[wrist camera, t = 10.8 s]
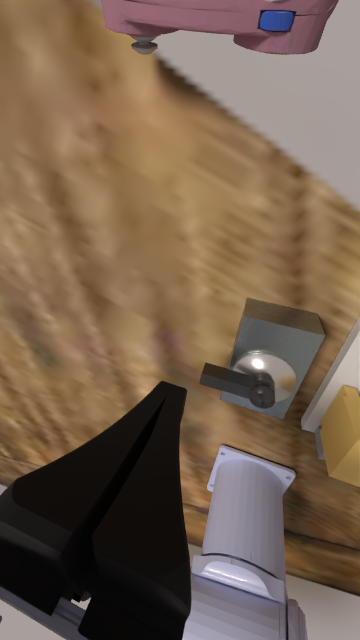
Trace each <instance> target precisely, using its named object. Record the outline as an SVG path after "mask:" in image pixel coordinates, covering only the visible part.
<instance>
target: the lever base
mask: <svg viewBox="0 0 360 640" xmlns="http://www.w3.org/2000/svg"><path fill="white" fill-rule="evenodd" d="M324 337H325V334H324V331H323V328H322V325H321V322H320V320H319V317H318V314H315V313H311V312H307V311H302V310H298V309H293V308H289V307H285V306H280V305H276V304H272V303H267V302H263V301H258V300H254V299H250V298H247V300H246V303H245V307H244V311H243V314H242V318H241V321H240V325H239V328H238V332H237V336H236V339H235V343H234V346H233V350H232V354H231V357H230V361H229V364H228V368H227V369H230V370H233V371H236V372H240V373H243V374H247V375H250V376H255V375H258V374H265V375H268V376H270V377H271V378H272V379H273V380H274V382H275V404H274V405H273V406H272V407H270V408H267V409H262V408H258V407H256V406H254V405H253V404H252V403H251V402H250V400H249V399H247V398H244V397H241V396H238V395H234V394H231V393H228V392H225V391H222V392H221V397H220V400H223V401H226V402H230V403H233V404H236V405H239V406H242V407H245V408H248V409H251V410H254V411H258V412H261V413H264V414H267V415H270V416H273V417H276V418H279V419H282V420H283V418H284V416H285V414H286V412H287V410H288V408H289V406H290V404H291V402H292V400H293V398H294V396H295V395H296V393H297V391H298V389H299V387H300V385H301V383H302V381H303V379H304V377H305V375H306V373H307V371H308V369H309V367H310V365H311V363H312V361H313V359H314V357H315V355H316V353H317V351H318V349H319V347H320V345H321V343H322V341H323V339H324Z"/></svg>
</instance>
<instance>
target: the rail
mask: <svg viewBox="0 0 360 640" xmlns="http://www.w3.org/2000/svg"><path fill="white" fill-rule="evenodd" d="M343 385H345V386H348V387H352V388H355V389H357V392H358V394H359V396H360V316H359V318H358V320H357V322H356V323H355V325H354V327H353V329H352V330H351V332H350V334H349V336H348V337H347V339H346V341H345V343H344V345H343V346H342V348H341V350H340V352H339V353H338V355H337V357H336V359H335V360H334V362H333V364H332V366H331V367H330V369H329V371H328V373H327V374H326V376H325V378H324V380H323V382H322V383H321V385H320V387H319V389H318V390H317V392H316V394H315V396H314V397H313V399H312V401H311V403H310V404H309V406H308V408H307V410H306V411H305V413H304V415H303V417H302V419H301V426H302V429H303V430H307V431H310V432H313V433H314V436H315V441H316V447H317V453H318V458H319V459H321V460H324V461H326V460H325V455H324V450H323V445H322V440H321V435H320V429H321V428H322V422H321V419H322V417H323V416H324V414H325V413H326V411H327V409H328V408H329V406H330V405H331V403H332V402H333V400H334V398H335V397H336V395H337V394H338V392H339V391H340V389H341V387H342V386H343Z"/></svg>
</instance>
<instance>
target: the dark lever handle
mask: <svg viewBox="0 0 360 640" xmlns="http://www.w3.org/2000/svg"><path fill="white" fill-rule="evenodd" d="M200 384H202V385H206V386H209V387H212V388H215V389H218V390H222V391H225V392H228V393H231V394H234V395H238V396H241V397H244V398H247V399H249V400H250V402H251V403H252V404H253V405H254V406H256V407H258V408H262V409H267V408H270V407H272V406H273V405H274V404H275V382H274V380H273V379H272V378H271V377H270V376H268V375H265V374H258V375H255V376H250V375H247V374H243V373H240V372H236V371H233V370H230V369H226V368H223V367H219V366H216V365H212V364H209V363H205V366H204V368H203V371H202V375H201V379H200Z"/></svg>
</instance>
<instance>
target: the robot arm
mask: <svg viewBox="0 0 360 640" xmlns="http://www.w3.org/2000/svg"><path fill="white" fill-rule="evenodd" d="M186 394H187V390H186V389H185V388H183V387H179V386H176V385H173V384H170V383H167V382H164V381H161V382H159V384H158V385H157V386H156V387H155V388H154V389H153V390H152V391H151V392H150V393H149V394H148V395H147V396H146V397H145V398H144V399H143V400H142V401H141V402H140V403H138V404H137V405H136V406H135V407H134V408H133V409H132V410H131V411H129V412H128V413H127V414H126V415H124V416H123V417H122V418H121V419H119V420H118V421H117V422H116V423H114V424H113V425H112V426H110V427H109V428H108V429H106V430H105V431H103V432H102V433H101V434H99V435H98V436H96V437H95V438H93V439H91V440H90V441H88V442H87V443H85V444H84V445H82V446H80V447H79V448H77V449H75V450H73V451H72V452H70V453H68V454H66V455H64V456H62V457H61V458H59V459H57V460H55V461H53V462H51V463H49V464H47V465H45V466H43V467H41V468H39V469H37V470H35V471H32V472H30V473H28V474H26V475H24V476H22V477H20V478H17V479H16V480H15V481H14V482H13V483H12V484H11V485H10V486H9V487H8V488H7V489H6V490H5V491H4V492H3V493H2V494H1V495H0V599H1V600H2V601H4V602H6V603H7V604H9V605H11V606H12V607H14V608H15V609H17V610H19V611H21V612H22V613H24V614H25V615H27V616H29V617H30V618H32V619H33V620H35V621H37V622H38V623H40V624H42V625H43V626H45V627H46V628H48V629H50V630H51V631H53V632H55V633H56V634H58V635H59V636H61V637H63V638H65V639H66V640H308V639H307V629H306V620H305V614H304V613H303V611H302V610H301V608H300V607H299V606H298V603H297V601H296V600H294V599H289V600H288V595H287V591H286V579H285V552H284V526H283V500H282V496H283V494H284V493H285V491H286V490H287V488H288V487H289V485H290V484H291V482H292V481H293V480H294V478H295V476H296V475H295V471H293V470H292V469H289V468H286V467H283V466H281V465H278V464H275V463H272V462H269V461H267V460H264V459H261V458H258V457H256V456H253V455H250V454H247V453H244V452H242V451H239V450H236V449H233V448H231V447H228V446H225V445H222V446H220V448H219V451H218V454H217V457H216V460H215V463H214V466H213V469H212V472H211V475H210V479H209V482H208V485H207V489H208V490H209V491H211V492H213V493H212V498H211V504H210V509H209V514H208V520H207V525H206V531H205V536H204V541H203V547H202V552H201V556H199V555H194V559H193V564H192V567H190V557H189V550H188V544H187V537H186V530H185V522H184V514H183V505H182V494H181V483H180V462H179V436H180V423H181V419H182V416H183V411H184V406H185V400H186ZM90 597H91V600H90V602H89V604H88V607H87V609H86V610H83V609H82V608H80V607H78V606H77V605H75V604H73V603H72V602H71V600H72V599H73V600H75V601H77V602H80V601H86V600H87V599H89V598H90ZM1 621H2V617H1V616H0V622H1Z"/></svg>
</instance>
